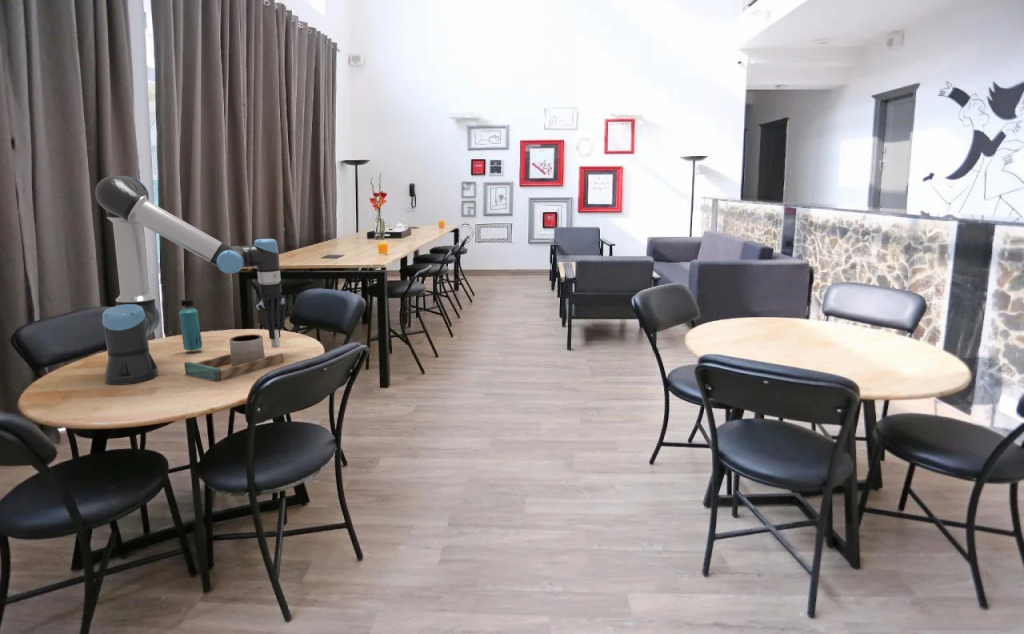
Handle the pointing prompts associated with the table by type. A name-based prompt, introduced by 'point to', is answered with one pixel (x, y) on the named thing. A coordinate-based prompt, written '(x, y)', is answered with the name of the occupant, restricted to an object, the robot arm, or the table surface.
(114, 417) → the table surface
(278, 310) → the robot arm
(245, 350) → the planter
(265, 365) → the bay
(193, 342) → the beverage bottle
